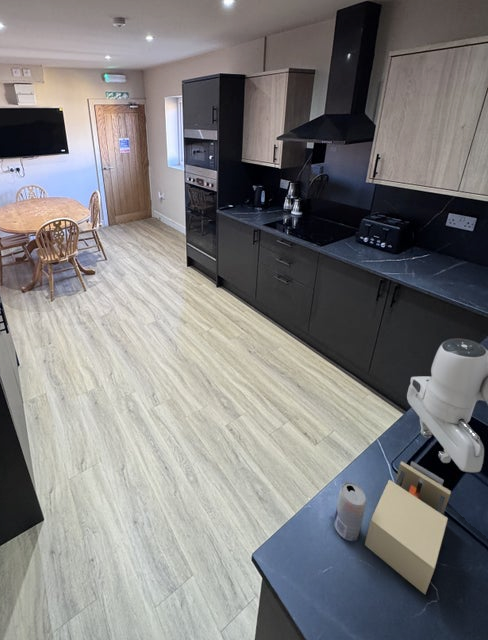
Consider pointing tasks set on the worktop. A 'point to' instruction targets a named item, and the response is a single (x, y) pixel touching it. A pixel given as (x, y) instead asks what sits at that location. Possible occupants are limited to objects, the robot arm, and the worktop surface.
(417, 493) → the orange stamp with handle
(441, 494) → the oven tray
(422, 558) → the tan cardboard carton
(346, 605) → the worktop surface
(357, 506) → the energy drink
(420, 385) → the robot arm
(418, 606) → the worktop surface
